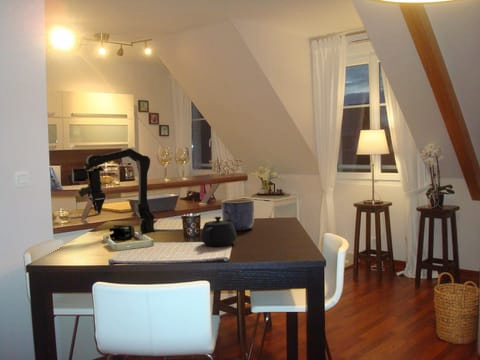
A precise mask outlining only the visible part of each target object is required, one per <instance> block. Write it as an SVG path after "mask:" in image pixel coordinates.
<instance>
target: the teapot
mask: <svg viewBox="0 0 480 360" xmlns="http://www.w3.org/2000/svg"><path fill="white" fill-rule="evenodd" d="M221 218H222V216H215V217H214V219H215V220H212V221H207V222H204V224H203V227H202V229H201V234H200V240H201V242H202V243H203V244H204V245H206V246H208V247H214V248H216V247H217V248H219V247H227V246H231V245H232V244H233V243H234V242H235V241H236V240H237V237H238V236H237V231H235V229H234V226H233V225H232V223H231V222H230V221H231V218H229V219H228V220H227V221H223V220H221Z"/></svg>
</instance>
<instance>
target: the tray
mask: <svg viewBox="0 0 480 360" xmlns="http://www.w3.org/2000/svg"><path fill="white" fill-rule="evenodd" d="M111 239H112V238H109V239H108V243H107V245H108V247H110V249H112V250H113V251H114V252H115V251H116V252H117V251H122V250H130V249H137V248H138V249H140V248H145V247H148V248H149V247H154V246H155V242H154V239H153V238H152V237H149V236H147V235H146V234H142V239H141V240H139V241H137V240H136V241H129V242H128V241H127V242H121V243H116V242H115V241H112V240H111ZM127 246H130V247H127Z"/></svg>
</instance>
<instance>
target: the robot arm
mask: <svg viewBox="0 0 480 360" xmlns="http://www.w3.org/2000/svg"><path fill="white" fill-rule="evenodd" d="M123 158H130V159H131V160H132V161H134V162H135V163H136V168H137V172H138V199H137V200H138V201H137V202H135V203H134V210H133V211H134V212H135V214H136V216H137V217H138V218H139V220H140V221H139V232H141V234H143V233H152V232H155V231H156V230H155V225H154V223H155V222H154V219H155V215H154V214H152V212H150V205H149V202H148V173H149V170H150V165H151V158H150V157H149V156H148V155H143V154H141V153H139V152H137V151H135V150H134V149H133V148H126V149H123V150H118V151H115V152H110V153H106V154H94V155H93V154H92V155H88V156H87V157H86V160H85V162H86V163H85V164H84V166H83V167H82V168H71V170H72V172H71V173H72V174H71V179H72V183H84V182H86V180H88V183H87V186H85V187H81V188H80V189H78V190H77V194H78V196H79V197H80V198H83V197H84V196H87V198H88V199H89V200H90V201H91V203H92V206H93V209H94V211H95V212H97V214H101V212H102V209H103V206H104V203H105V200H106V198H107V197H106V193H104V192H103V190H102V189H103V188H102V185H103V184H102V183H103V182H102V180H101V172H104V171H105V169H104V168H103V167H102V166H101V165H103V164H106V163H107V162H111V161H115V160H119V159H123Z"/></svg>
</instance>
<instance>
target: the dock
mask: <svg viewBox="0 0 480 360" xmlns="http://www.w3.org/2000/svg"><path fill="white" fill-rule="evenodd" d="M142 235H143V233H142V232H141V231H135V234H134V236H133V237H135V238H137V239H139V240H142ZM108 239H110V235H102V240H103V241H104V242H105V243H106V244H108Z"/></svg>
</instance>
